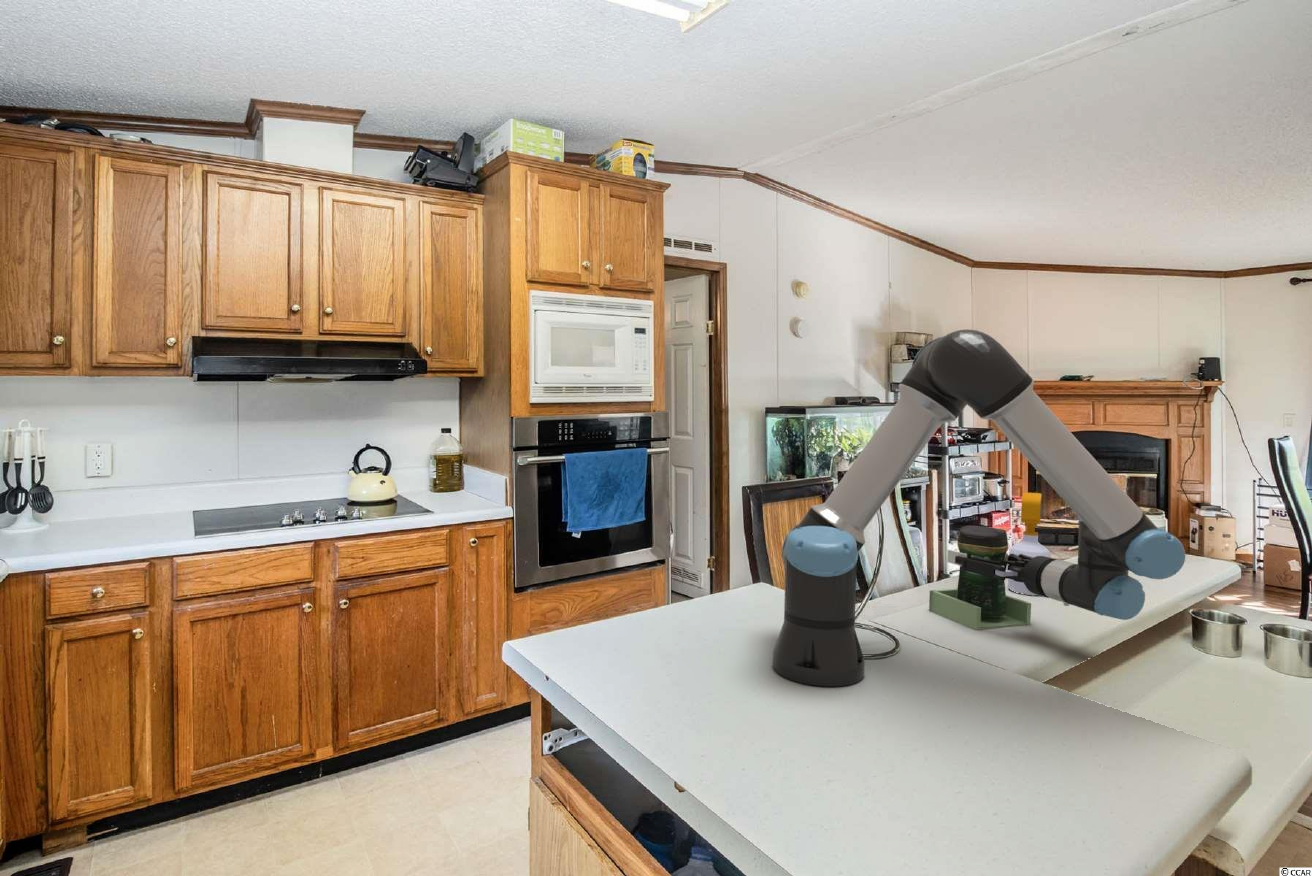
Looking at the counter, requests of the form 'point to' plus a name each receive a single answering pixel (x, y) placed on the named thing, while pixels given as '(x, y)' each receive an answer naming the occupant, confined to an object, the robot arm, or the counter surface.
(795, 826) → the counter surface
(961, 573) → the coffee jar
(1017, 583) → the soap bottle
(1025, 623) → the green tray
